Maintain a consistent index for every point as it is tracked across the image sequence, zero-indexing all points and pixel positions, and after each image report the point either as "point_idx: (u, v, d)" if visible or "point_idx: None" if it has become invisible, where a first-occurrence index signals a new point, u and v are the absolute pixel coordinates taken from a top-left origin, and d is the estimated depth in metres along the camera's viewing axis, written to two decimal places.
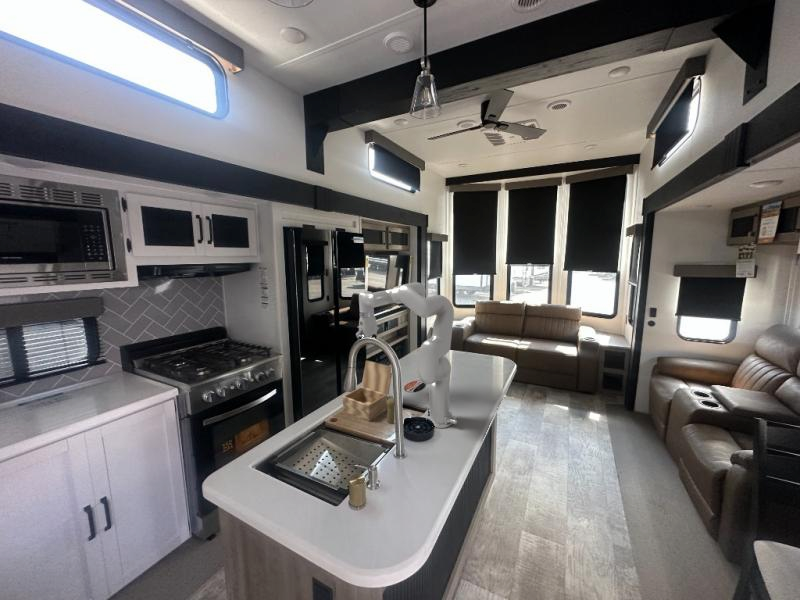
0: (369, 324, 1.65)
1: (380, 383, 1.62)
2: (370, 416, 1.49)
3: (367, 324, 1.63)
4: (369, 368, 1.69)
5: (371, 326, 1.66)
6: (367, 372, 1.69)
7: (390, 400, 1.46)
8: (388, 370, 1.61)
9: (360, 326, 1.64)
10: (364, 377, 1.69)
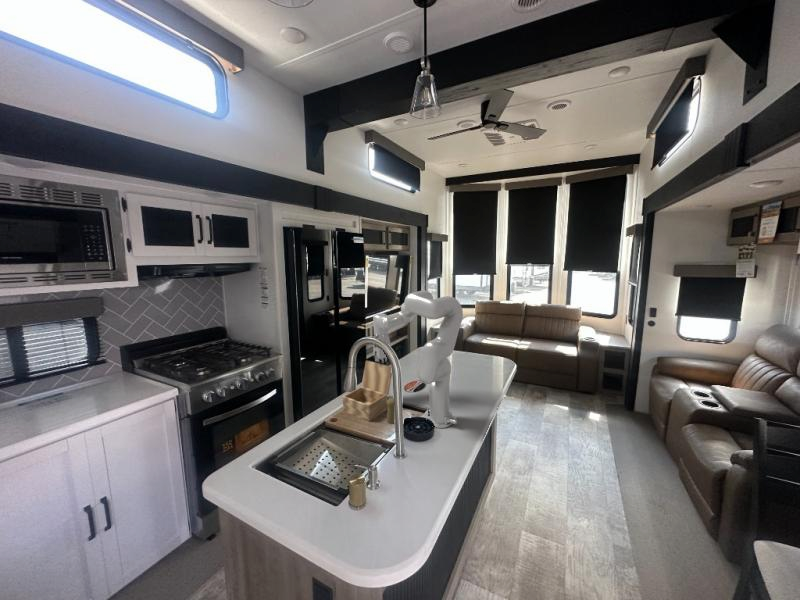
0: None
1: (380, 383, 1.62)
2: (370, 416, 1.49)
3: None
4: (369, 368, 1.69)
5: None
6: (367, 372, 1.69)
7: (390, 400, 1.46)
8: (388, 370, 1.61)
9: (374, 348, 1.63)
10: (364, 377, 1.69)
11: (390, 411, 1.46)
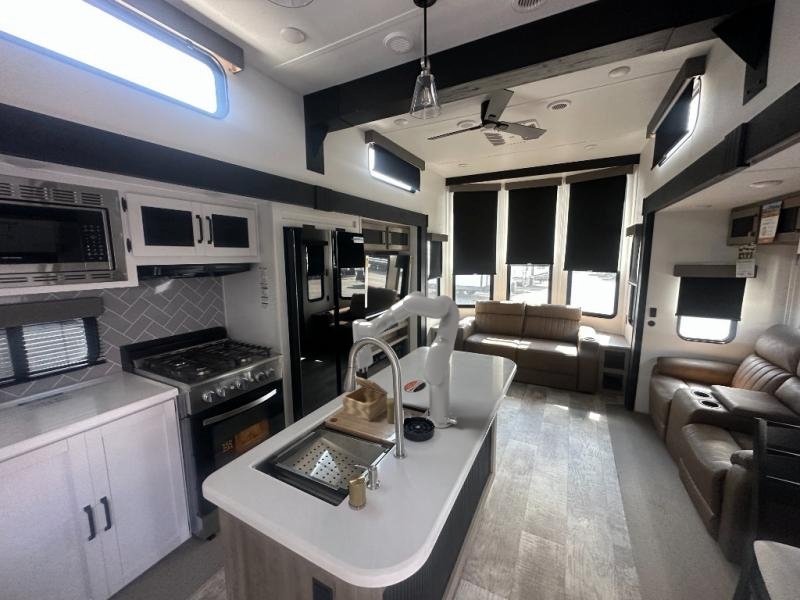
0: (364, 355, 1.52)
1: (374, 388, 1.59)
2: (370, 416, 1.49)
3: (362, 355, 1.51)
4: None
5: (366, 357, 1.53)
6: (356, 381, 1.62)
7: (390, 400, 1.46)
8: (372, 384, 1.51)
9: None
10: (357, 383, 1.65)
11: (390, 411, 1.46)
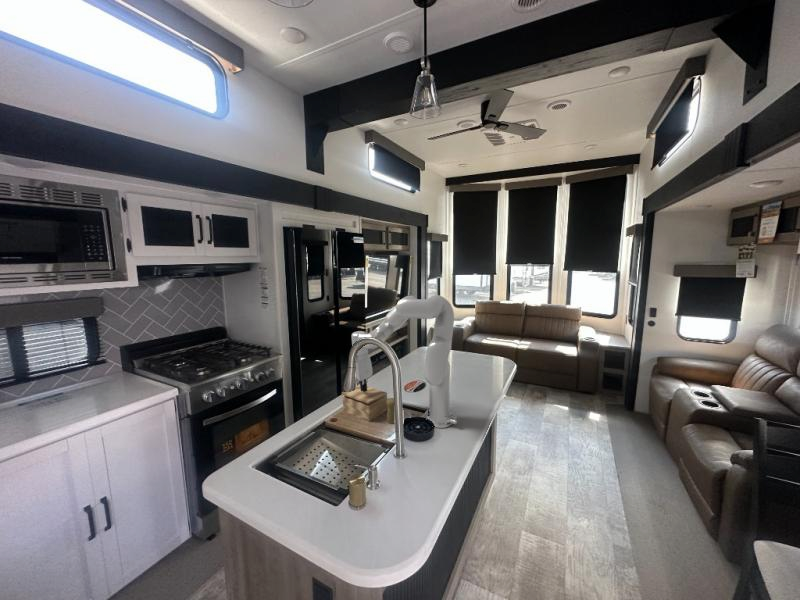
0: (364, 367, 1.52)
1: None
2: (370, 416, 1.49)
3: (361, 367, 1.51)
4: None
5: (366, 369, 1.53)
6: None
7: (390, 400, 1.46)
8: None
9: None
10: None
11: (390, 411, 1.46)
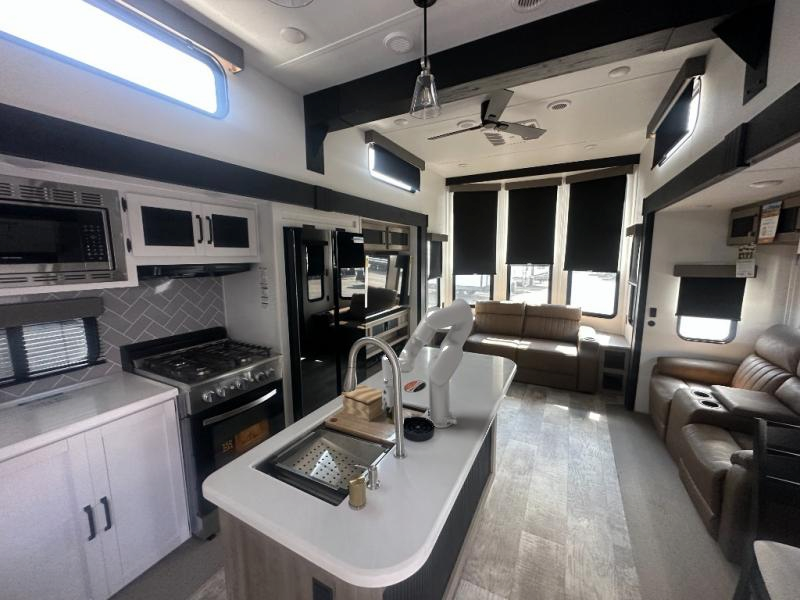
0: None
1: None
2: (370, 416, 1.49)
3: (392, 393, 1.42)
4: None
5: None
6: None
7: None
8: None
9: (383, 395, 1.43)
10: None
11: None
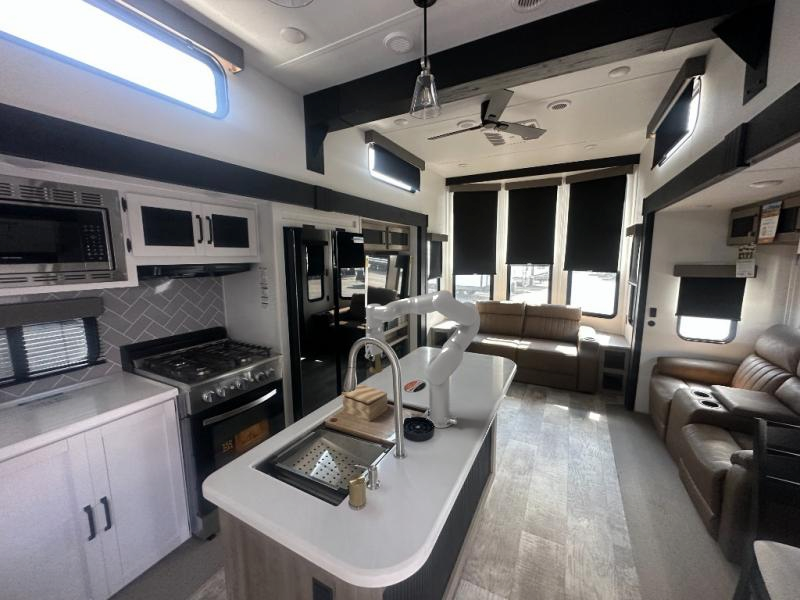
0: None
1: None
2: (370, 416, 1.49)
3: None
4: None
5: None
6: None
7: None
8: None
9: None
10: None
11: None
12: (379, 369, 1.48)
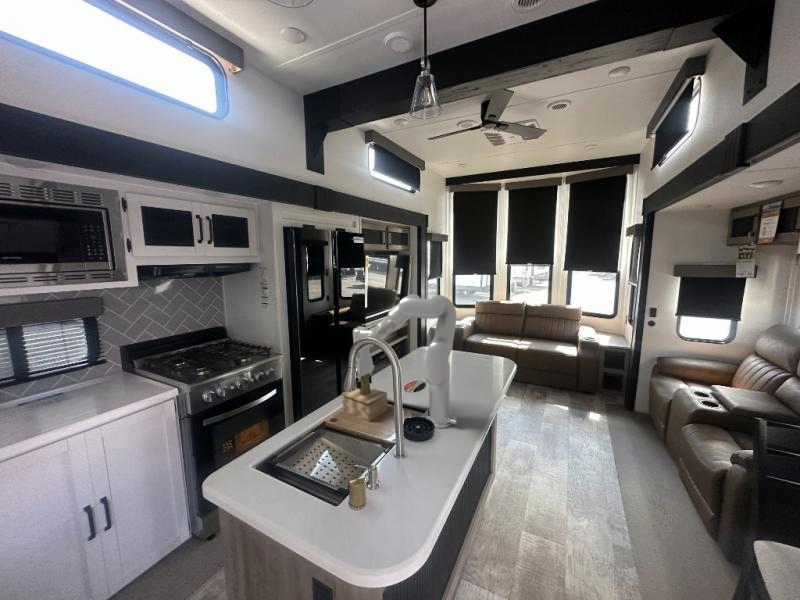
0: (364, 363, 1.53)
1: None
2: (370, 416, 1.49)
3: (362, 363, 1.51)
4: None
5: (366, 365, 1.54)
6: None
7: None
8: None
9: None
10: None
11: (362, 383, 1.56)
12: (368, 391, 1.56)
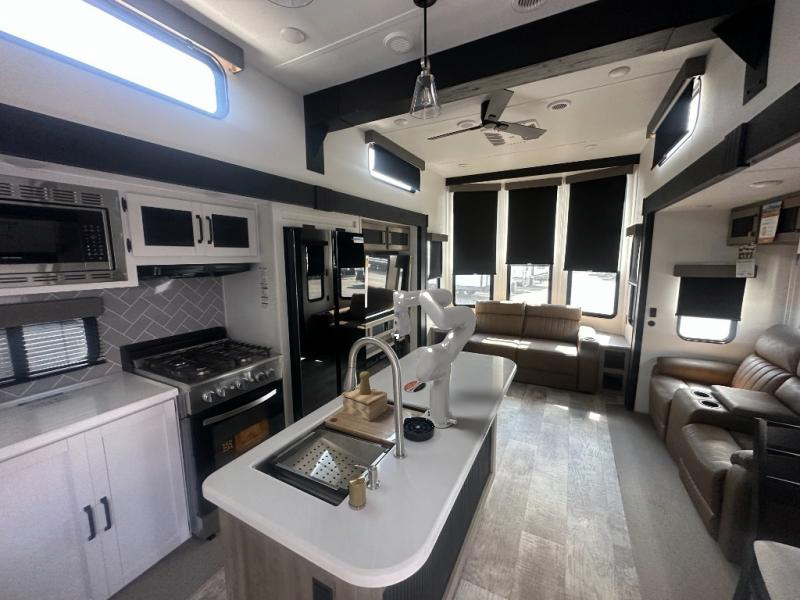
0: (404, 324, 1.62)
1: None
2: (370, 416, 1.49)
3: (402, 323, 1.61)
4: None
5: (405, 326, 1.63)
6: None
7: (363, 372, 1.56)
8: None
9: (395, 326, 1.61)
10: None
11: (362, 383, 1.56)
12: (368, 391, 1.56)
